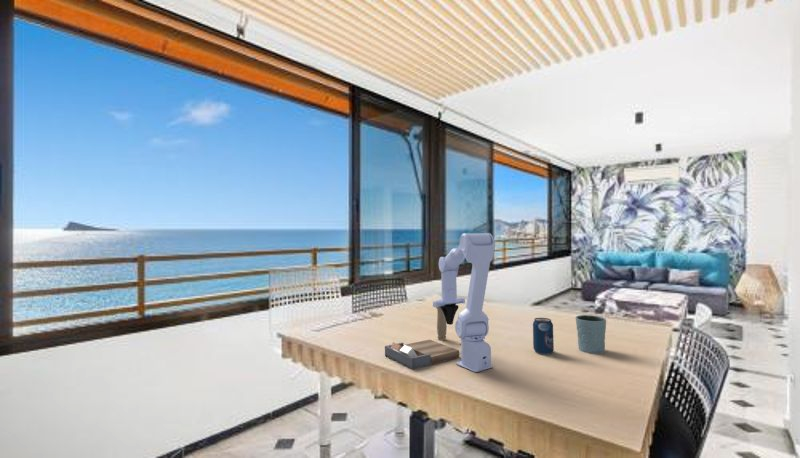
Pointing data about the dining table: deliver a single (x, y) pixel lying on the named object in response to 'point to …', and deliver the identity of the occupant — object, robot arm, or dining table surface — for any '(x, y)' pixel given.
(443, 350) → the wooden board
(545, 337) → the soda can
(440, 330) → the handle
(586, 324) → the blue-grey cup
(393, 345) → the tile terracotta
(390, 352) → the box
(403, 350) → the tile cream
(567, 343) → the dining table surface
